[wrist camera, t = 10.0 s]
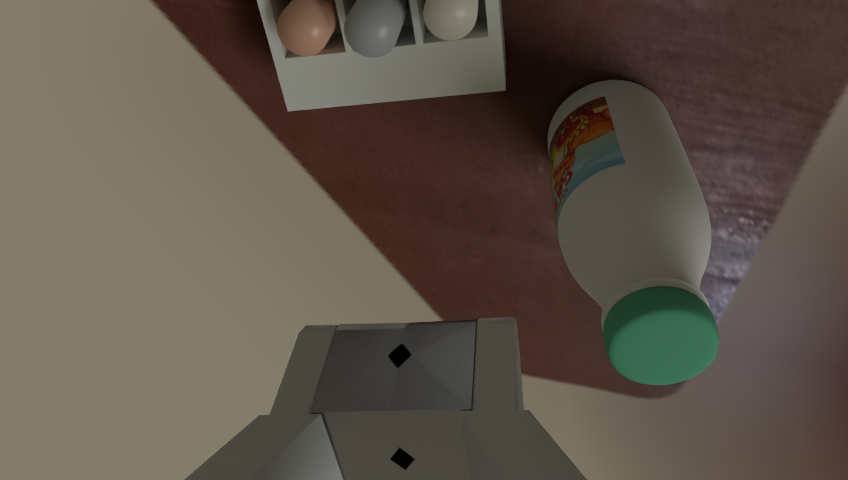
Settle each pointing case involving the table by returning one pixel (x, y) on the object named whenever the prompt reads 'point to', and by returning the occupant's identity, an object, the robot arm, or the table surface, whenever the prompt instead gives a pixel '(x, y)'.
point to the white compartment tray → (390, 61)
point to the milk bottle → (634, 229)
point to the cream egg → (450, 17)
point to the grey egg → (375, 26)
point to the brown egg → (307, 25)
